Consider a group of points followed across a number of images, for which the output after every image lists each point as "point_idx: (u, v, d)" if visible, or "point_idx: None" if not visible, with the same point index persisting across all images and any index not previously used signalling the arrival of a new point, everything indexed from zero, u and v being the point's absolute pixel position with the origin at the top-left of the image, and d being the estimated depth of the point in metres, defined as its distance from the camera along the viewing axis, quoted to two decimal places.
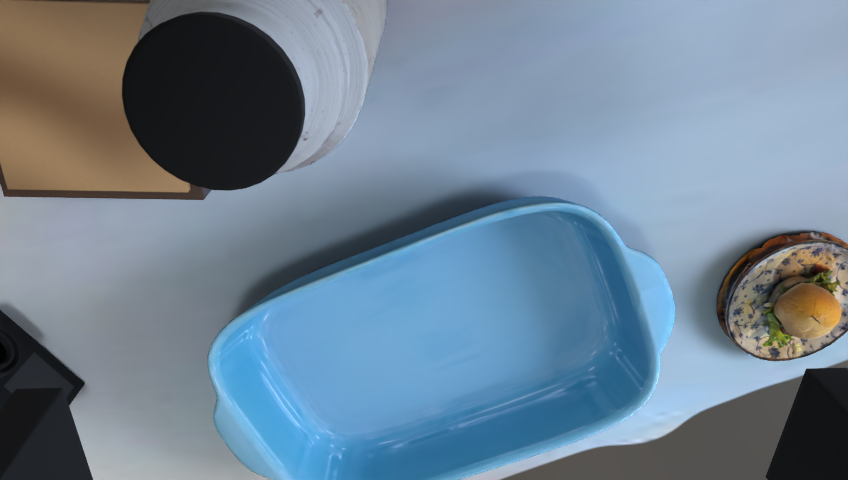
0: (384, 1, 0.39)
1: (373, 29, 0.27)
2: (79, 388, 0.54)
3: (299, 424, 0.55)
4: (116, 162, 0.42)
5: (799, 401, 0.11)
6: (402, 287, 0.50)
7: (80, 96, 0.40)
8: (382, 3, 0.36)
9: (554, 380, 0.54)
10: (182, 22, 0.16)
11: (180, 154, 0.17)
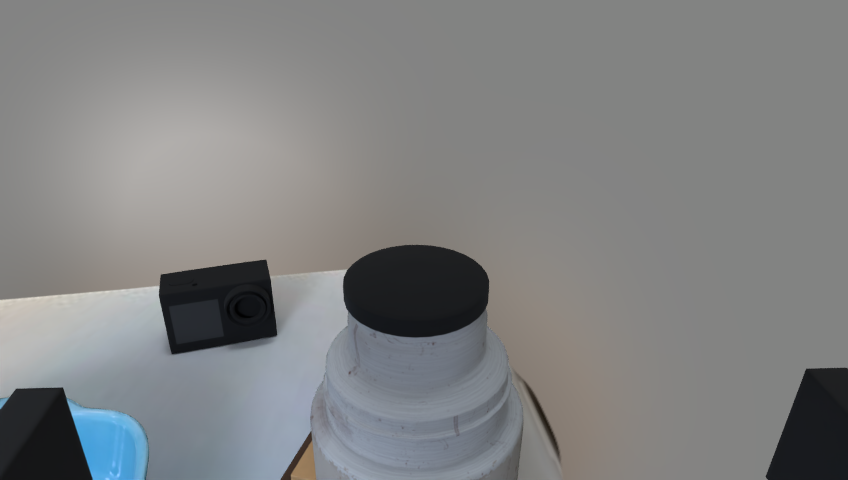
0: None
1: None
2: (172, 347, 0.61)
3: None
4: None
5: (799, 401, 0.11)
6: None
7: None
8: None
9: None
10: (484, 279, 0.21)
11: (389, 255, 0.22)
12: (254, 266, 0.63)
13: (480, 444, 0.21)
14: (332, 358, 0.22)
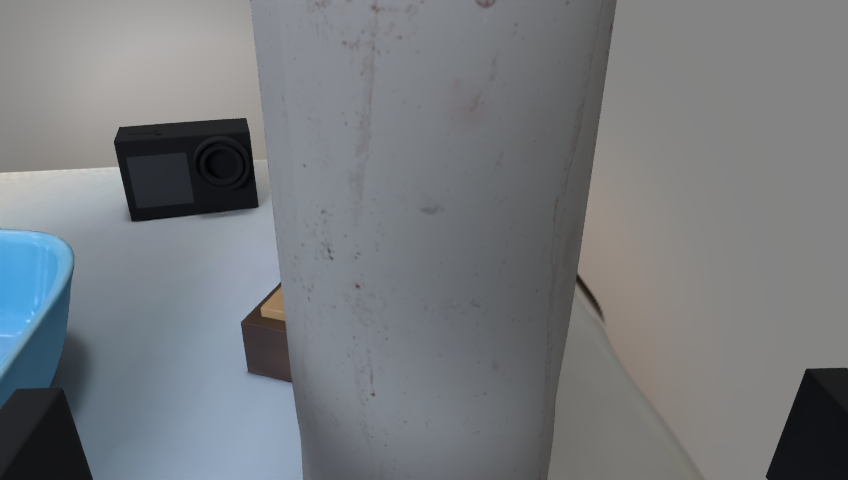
0: None
1: (406, 252, 0.12)
2: (131, 211, 0.51)
3: None
4: None
5: (799, 401, 0.11)
6: None
7: None
8: None
9: None
10: None
11: None
12: (231, 122, 0.53)
13: None
14: None
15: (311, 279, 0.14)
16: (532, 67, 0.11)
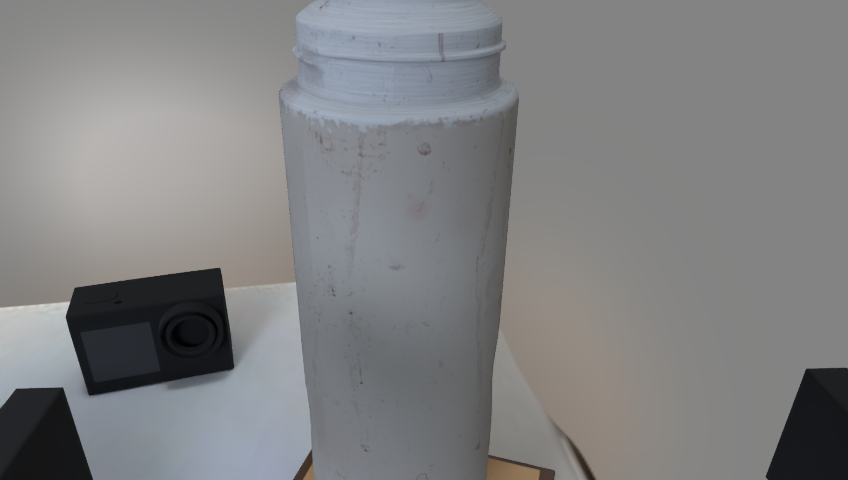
0: None
1: (381, 292, 0.20)
2: (88, 386, 0.45)
3: None
4: None
5: (799, 401, 0.11)
6: None
7: None
8: None
9: None
10: None
11: None
12: (202, 277, 0.47)
13: (469, 92, 0.18)
14: (303, 11, 0.19)
15: (320, 308, 0.21)
16: (455, 184, 0.19)
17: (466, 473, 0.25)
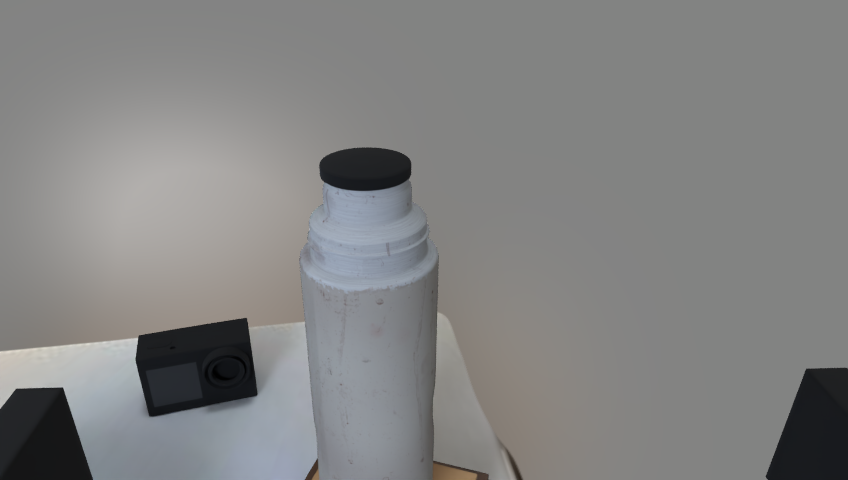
0: None
1: (358, 374, 0.35)
2: (149, 410, 0.60)
3: None
4: None
5: (799, 401, 0.11)
6: None
7: None
8: None
9: None
10: (407, 162, 0.33)
11: (350, 151, 0.34)
12: (234, 326, 0.62)
13: (405, 267, 0.33)
14: (313, 216, 0.34)
15: (323, 380, 0.36)
16: (398, 317, 0.33)
17: (415, 476, 0.40)
